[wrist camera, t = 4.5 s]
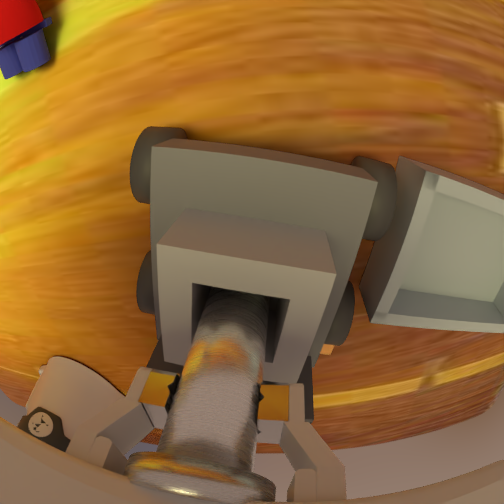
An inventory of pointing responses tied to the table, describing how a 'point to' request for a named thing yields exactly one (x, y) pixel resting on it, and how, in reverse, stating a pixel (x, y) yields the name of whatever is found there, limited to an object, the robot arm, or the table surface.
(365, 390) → the table surface
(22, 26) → the toy
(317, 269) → the trolley
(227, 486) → the pin
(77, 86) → the table surface
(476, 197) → the tray
